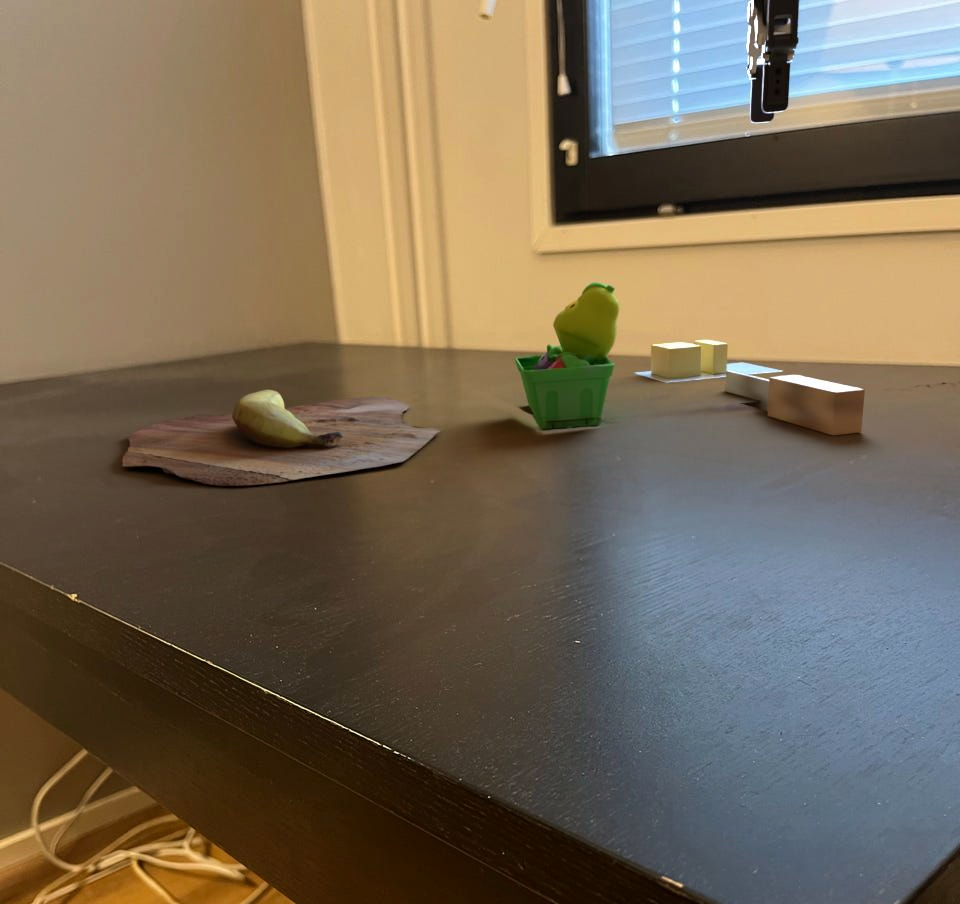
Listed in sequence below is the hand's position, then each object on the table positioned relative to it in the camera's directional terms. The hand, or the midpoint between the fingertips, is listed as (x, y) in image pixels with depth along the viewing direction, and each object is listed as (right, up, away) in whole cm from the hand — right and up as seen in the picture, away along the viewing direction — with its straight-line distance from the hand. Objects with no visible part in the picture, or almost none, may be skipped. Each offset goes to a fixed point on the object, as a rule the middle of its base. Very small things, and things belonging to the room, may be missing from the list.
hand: (767, 117), depth 91 cm
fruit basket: (-19, -29, -4) cm, 35 cm away
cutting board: (-44, -31, -5) cm, 54 cm away
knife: (-1, -29, -8) cm, 31 cm away
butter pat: (-2, -20, +13) cm, 24 cm away
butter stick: (-6, -21, +12) cm, 25 cm away
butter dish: (-3, -21, +13) cm, 25 cm away
